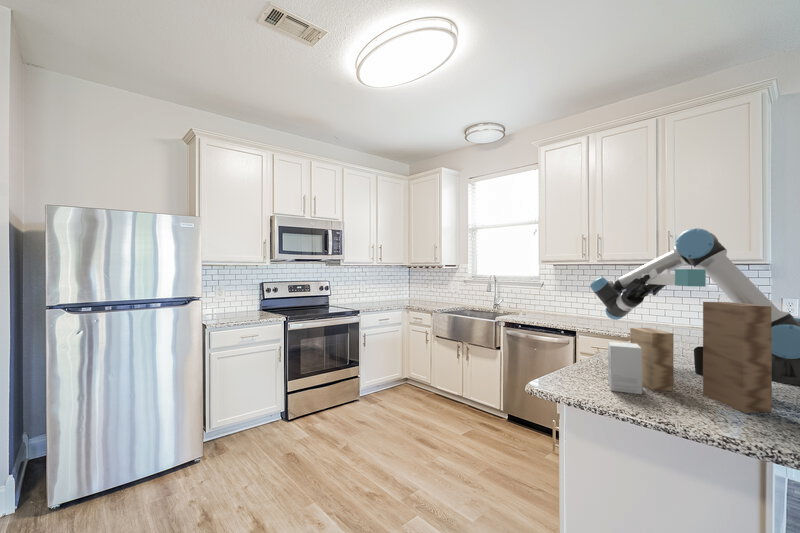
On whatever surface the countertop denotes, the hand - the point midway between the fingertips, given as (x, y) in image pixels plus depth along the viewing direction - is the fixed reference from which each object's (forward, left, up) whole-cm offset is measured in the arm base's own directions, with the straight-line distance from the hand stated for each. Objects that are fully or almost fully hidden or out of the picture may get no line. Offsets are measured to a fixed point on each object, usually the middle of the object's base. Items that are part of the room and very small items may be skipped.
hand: (662, 272), depth 137 cm
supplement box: (+22, +14, -40) cm, 47 cm away
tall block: (-4, +26, -39) cm, 47 cm away
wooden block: (+10, +9, -39) cm, 42 cm away
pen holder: (-22, -6, -40) cm, 46 cm away
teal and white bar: (0, +4, -5) cm, 6 cm away
